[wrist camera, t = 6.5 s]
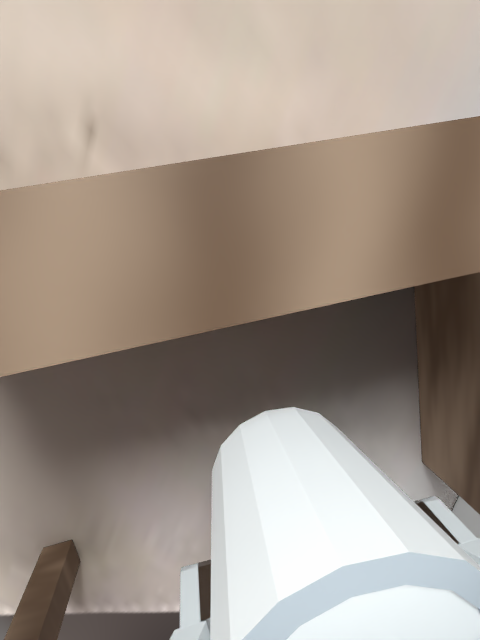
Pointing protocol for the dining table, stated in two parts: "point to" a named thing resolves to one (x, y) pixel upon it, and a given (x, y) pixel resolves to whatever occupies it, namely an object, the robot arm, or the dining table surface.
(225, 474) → the shot glass
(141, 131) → the dining table surface
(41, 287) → the box
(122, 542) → the dining table surface
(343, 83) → the dining table surface
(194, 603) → the robot arm
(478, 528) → the medicine bottle
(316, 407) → the dining table surface
